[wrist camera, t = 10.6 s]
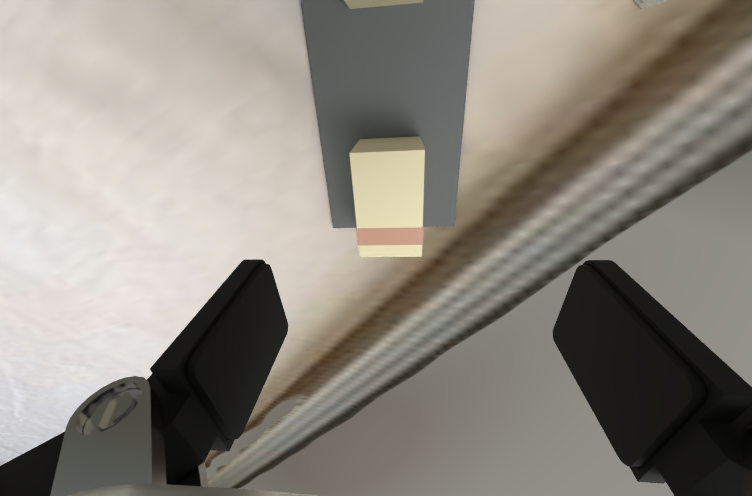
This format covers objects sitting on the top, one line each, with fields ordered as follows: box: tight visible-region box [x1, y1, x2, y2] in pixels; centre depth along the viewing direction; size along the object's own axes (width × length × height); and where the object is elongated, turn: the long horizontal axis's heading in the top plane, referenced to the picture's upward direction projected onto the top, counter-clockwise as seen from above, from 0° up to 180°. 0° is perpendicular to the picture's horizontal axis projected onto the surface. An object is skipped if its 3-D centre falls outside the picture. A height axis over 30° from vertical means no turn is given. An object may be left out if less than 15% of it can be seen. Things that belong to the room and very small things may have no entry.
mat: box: [301, 0, 474, 228], centre depth 23 cm, size 33×13×1 cm, turn 3°
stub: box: [349, 136, 425, 257], centre depth 26 cm, size 9×6×6 cm, turn 3°
